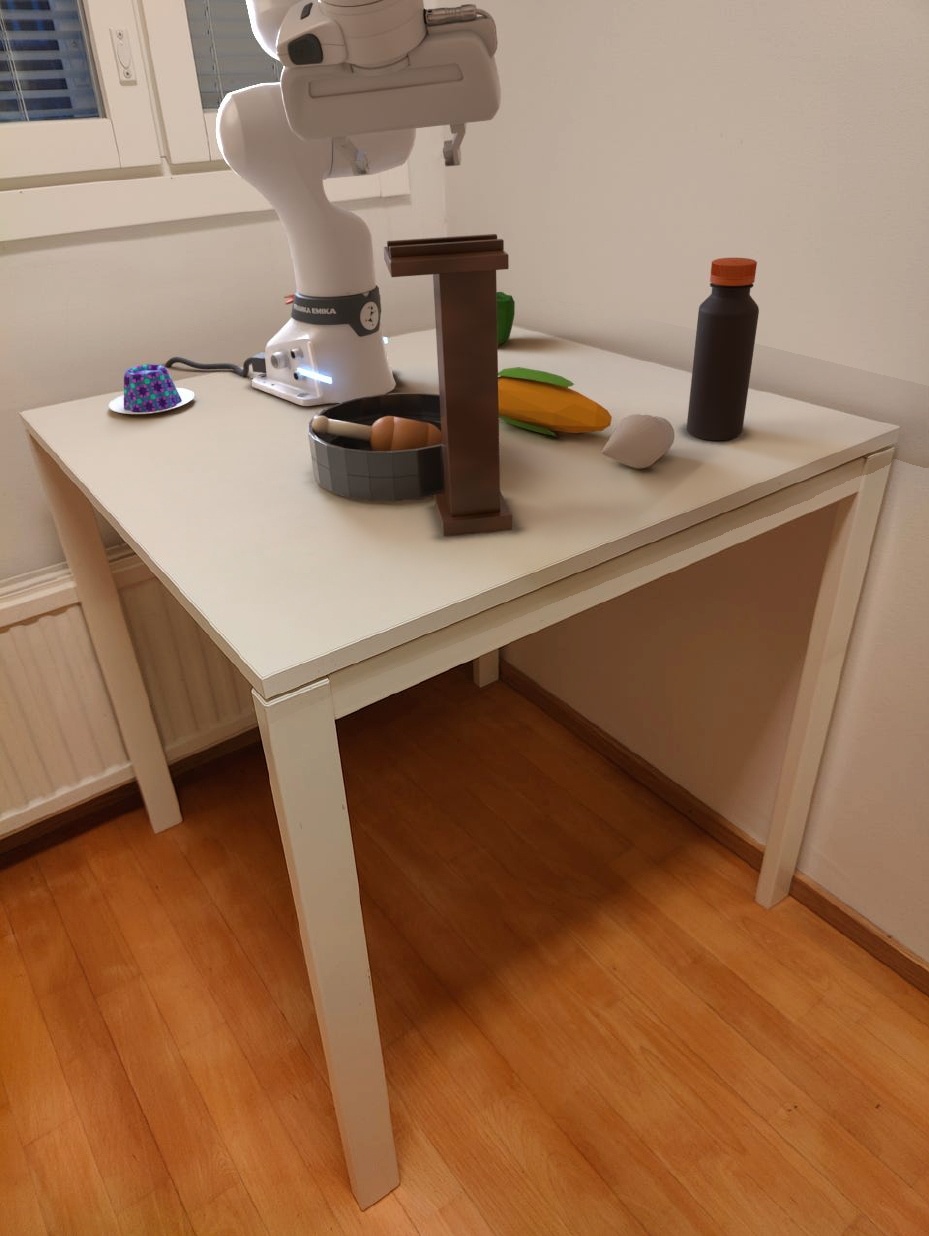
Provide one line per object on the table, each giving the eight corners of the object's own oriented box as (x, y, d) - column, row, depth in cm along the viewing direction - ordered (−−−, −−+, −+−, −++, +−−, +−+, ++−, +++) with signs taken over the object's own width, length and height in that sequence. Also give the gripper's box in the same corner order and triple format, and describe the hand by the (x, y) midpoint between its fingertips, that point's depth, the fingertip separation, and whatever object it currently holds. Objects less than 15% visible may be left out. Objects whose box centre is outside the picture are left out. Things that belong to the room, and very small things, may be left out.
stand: (412, 542, 85) (389, 251, 71) (404, 508, 92) (382, 237, 78) (513, 531, 86) (510, 243, 72) (498, 499, 93) (493, 230, 79)
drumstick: (308, 451, 96) (315, 409, 94) (309, 436, 100) (315, 396, 98) (441, 473, 100) (451, 434, 98) (436, 458, 104) (445, 420, 102)
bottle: (754, 433, 107) (779, 261, 96) (713, 445, 104) (734, 269, 93) (714, 418, 112) (733, 253, 101) (674, 430, 109) (690, 261, 98)
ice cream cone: (592, 491, 94) (654, 468, 105) (636, 465, 89) (696, 444, 100) (566, 441, 94) (631, 423, 105) (609, 413, 90) (672, 397, 101)
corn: (507, 350, 114) (632, 377, 102) (510, 405, 119) (631, 438, 107) (468, 367, 110) (594, 397, 98) (473, 424, 115) (594, 459, 103)
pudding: (173, 387, 133) (165, 352, 130) (210, 404, 125) (202, 367, 122) (96, 406, 126) (87, 370, 124) (130, 425, 119) (121, 387, 116)
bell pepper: (483, 335, 152) (481, 275, 147) (522, 340, 148) (522, 279, 143) (455, 346, 147) (452, 284, 141) (495, 352, 142) (494, 289, 137)
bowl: (278, 480, 100) (270, 430, 97) (391, 428, 113) (387, 383, 110) (412, 520, 90) (408, 466, 86) (518, 458, 103) (518, 409, 100)
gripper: (495, -18, 75) (512, 137, 87) (271, 12, 78) (316, 158, 90) (490, 20, 72) (508, 176, 84) (258, 50, 75) (306, 196, 87)
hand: (407, 167), depth 87 cm, fingers open, 8 cm apart
